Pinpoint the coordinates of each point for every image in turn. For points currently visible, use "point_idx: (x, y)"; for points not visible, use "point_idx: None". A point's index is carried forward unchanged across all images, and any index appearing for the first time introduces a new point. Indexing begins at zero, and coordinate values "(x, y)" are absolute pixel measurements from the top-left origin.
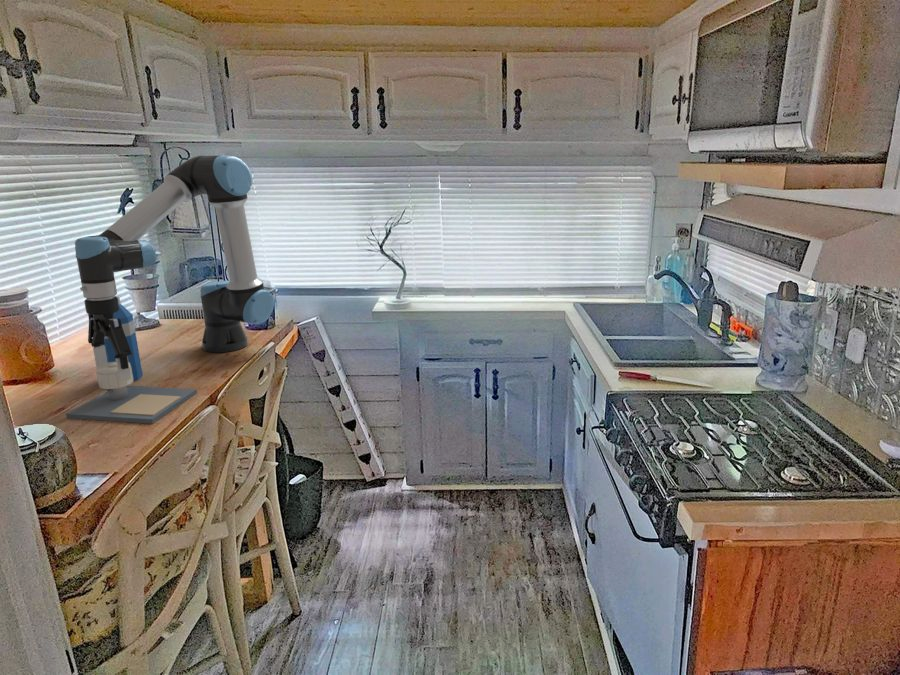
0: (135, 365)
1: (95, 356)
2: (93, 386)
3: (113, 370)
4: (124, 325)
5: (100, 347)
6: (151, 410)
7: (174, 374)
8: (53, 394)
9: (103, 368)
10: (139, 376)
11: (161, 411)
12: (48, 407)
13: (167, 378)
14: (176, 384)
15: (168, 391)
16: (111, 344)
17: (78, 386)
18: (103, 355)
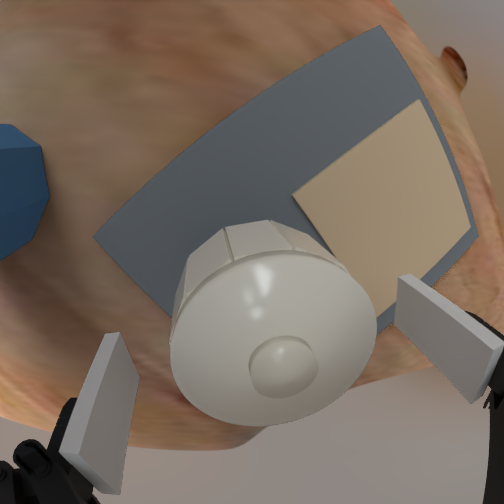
0: (2, 150)
1: (123, 443)
2: (27, 297)
3: (365, 365)
4: None
5: (97, 468)
6: (451, 221)
7: (84, 12)
8: (53, 387)
9: (281, 403)
10: (25, 138)
11: (464, 199)
12: (152, 415)
13: (107, 39)
14: (214, 27)
15: (333, 94)
16: (489, 475)
17: (13, 329)
18: (107, 408)
